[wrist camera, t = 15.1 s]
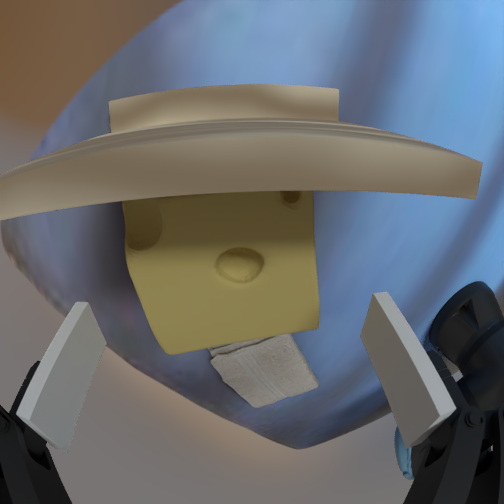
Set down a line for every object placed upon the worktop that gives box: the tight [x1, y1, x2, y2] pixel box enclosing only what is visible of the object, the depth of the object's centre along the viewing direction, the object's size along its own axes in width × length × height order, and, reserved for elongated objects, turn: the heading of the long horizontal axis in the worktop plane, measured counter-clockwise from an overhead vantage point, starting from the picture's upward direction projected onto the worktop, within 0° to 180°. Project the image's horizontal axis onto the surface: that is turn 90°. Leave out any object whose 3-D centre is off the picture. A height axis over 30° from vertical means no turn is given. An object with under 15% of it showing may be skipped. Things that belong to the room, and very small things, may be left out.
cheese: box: [122, 191, 320, 355], centre depth 18 cm, size 10×11×10 cm
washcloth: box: [207, 333, 318, 407], centre depth 38 cm, size 12×18×3 cm, turn 26°
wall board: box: [0, 84, 483, 220], centre depth 17 cm, size 16×20×18 cm
